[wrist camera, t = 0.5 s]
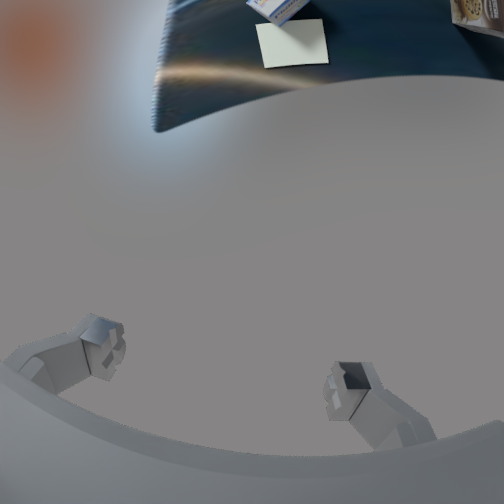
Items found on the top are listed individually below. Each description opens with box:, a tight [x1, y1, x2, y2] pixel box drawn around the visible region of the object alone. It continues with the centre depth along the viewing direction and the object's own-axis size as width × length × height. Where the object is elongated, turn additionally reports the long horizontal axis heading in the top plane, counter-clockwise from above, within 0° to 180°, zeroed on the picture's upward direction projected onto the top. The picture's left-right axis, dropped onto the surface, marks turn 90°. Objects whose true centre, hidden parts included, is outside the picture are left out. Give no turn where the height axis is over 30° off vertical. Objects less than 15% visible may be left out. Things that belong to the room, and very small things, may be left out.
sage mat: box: [256, 19, 329, 68], centre depth 35 cm, size 8×11×1 cm
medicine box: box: [246, 0, 310, 27], centre depth 26 cm, size 8×4×9 cm, turn 140°
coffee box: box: [450, 0, 504, 38], centre depth 14 cm, size 9×6×16 cm
